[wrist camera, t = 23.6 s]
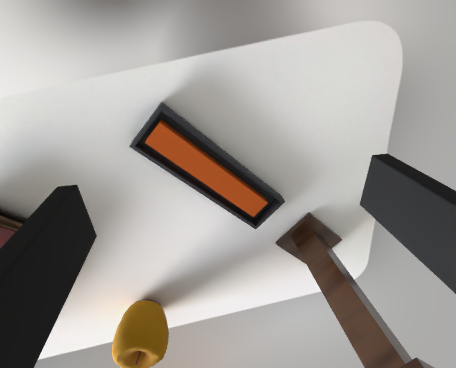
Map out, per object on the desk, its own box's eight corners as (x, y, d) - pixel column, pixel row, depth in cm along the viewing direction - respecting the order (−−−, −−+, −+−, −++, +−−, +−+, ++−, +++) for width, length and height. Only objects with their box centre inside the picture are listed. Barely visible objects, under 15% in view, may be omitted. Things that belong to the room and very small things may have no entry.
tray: (132, 141, 41) (129, 146, 39) (161, 101, 38) (160, 104, 36) (253, 222, 53) (255, 229, 51) (281, 195, 50) (285, 201, 48)
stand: (272, 240, 56) (352, 414, 29) (306, 209, 53) (427, 372, 27) (310, 265, 62) (405, 429, 35) (342, 238, 59) (470, 395, 33)
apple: (166, 286, 58) (163, 344, 47) (172, 315, 63) (170, 374, 52) (116, 293, 56) (100, 354, 45) (127, 323, 62) (114, 384, 50)
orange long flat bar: (146, 138, 40) (144, 142, 38) (161, 118, 39) (160, 122, 37) (250, 210, 50) (253, 217, 48) (264, 197, 49) (268, 203, 47)
